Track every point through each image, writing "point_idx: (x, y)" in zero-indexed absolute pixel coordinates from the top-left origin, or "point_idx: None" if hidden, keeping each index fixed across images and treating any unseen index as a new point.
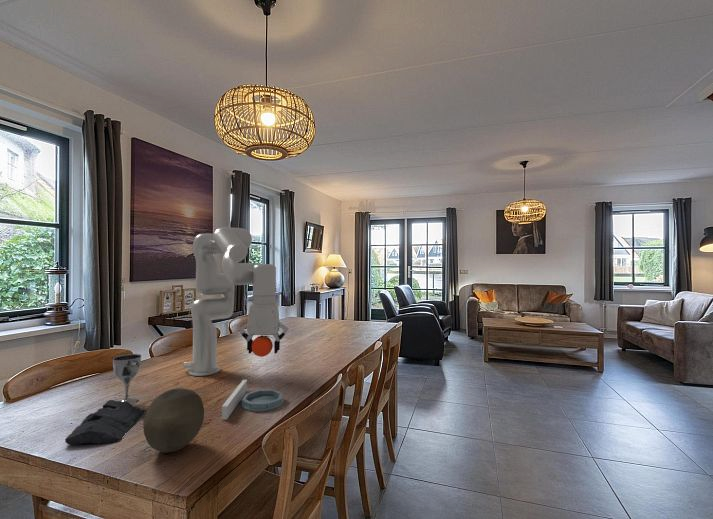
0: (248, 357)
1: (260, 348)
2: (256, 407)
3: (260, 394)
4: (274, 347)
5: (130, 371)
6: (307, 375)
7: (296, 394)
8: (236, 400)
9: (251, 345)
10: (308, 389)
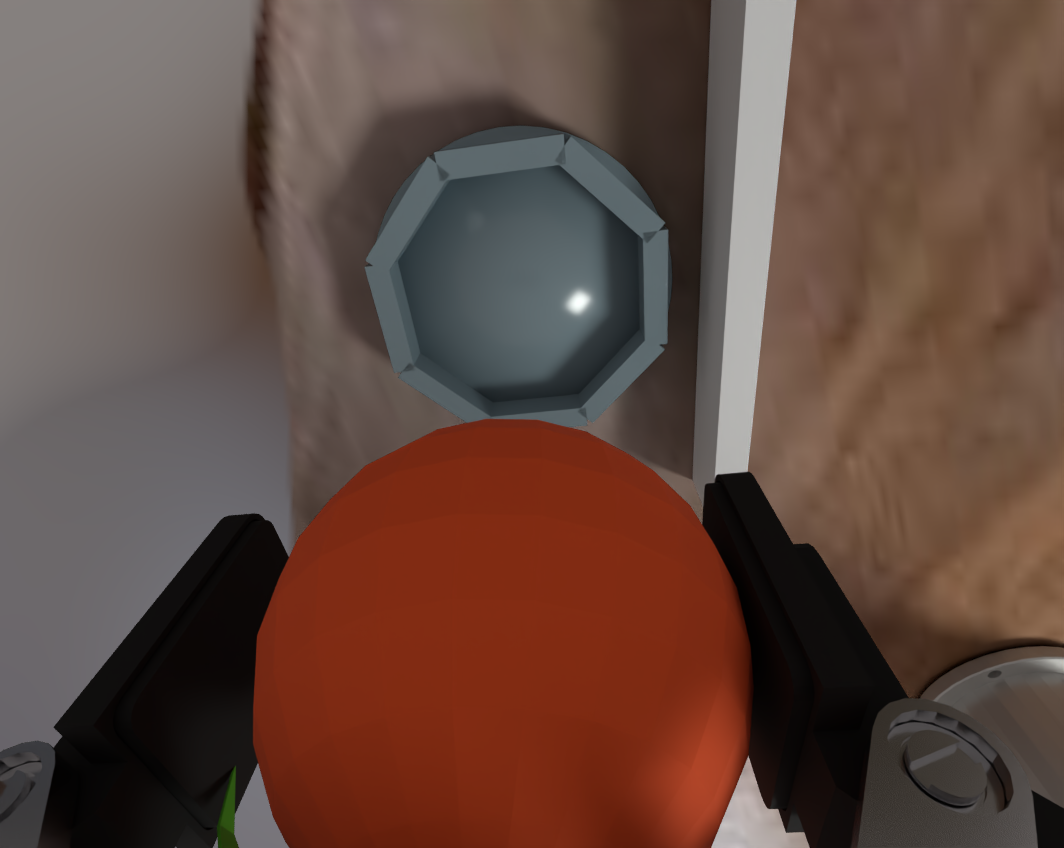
0: (786, 838)
1: (449, 463)
2: (518, 138)
3: (573, 395)
4: (207, 597)
5: None
6: None
7: (357, 447)
8: (713, 238)
9: (747, 630)
10: None
